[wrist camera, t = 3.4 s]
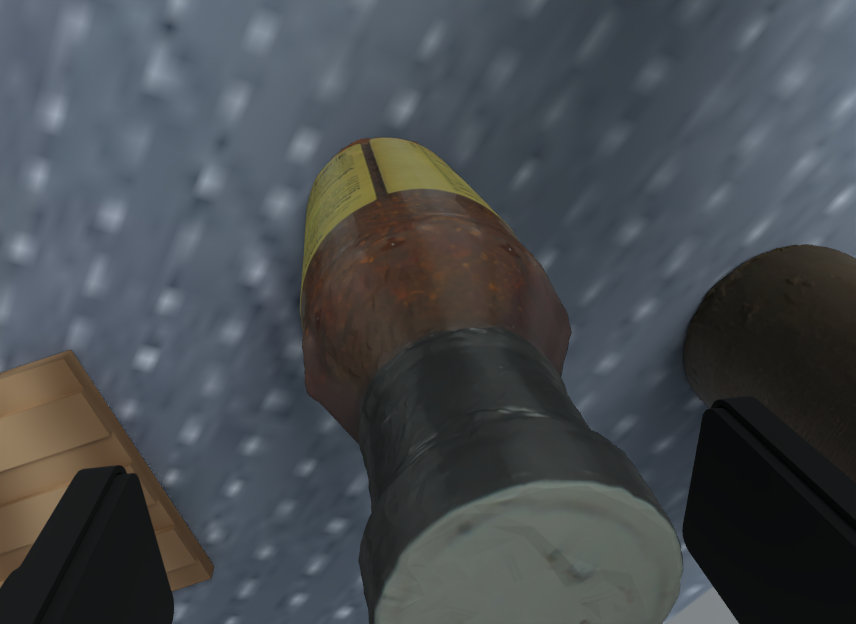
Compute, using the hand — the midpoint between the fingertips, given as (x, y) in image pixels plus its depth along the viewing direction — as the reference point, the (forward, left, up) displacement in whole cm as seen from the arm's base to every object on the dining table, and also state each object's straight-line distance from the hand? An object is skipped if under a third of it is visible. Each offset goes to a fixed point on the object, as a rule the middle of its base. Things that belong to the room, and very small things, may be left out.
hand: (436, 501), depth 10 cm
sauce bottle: (0, 0, -17) cm, 17 cm away
